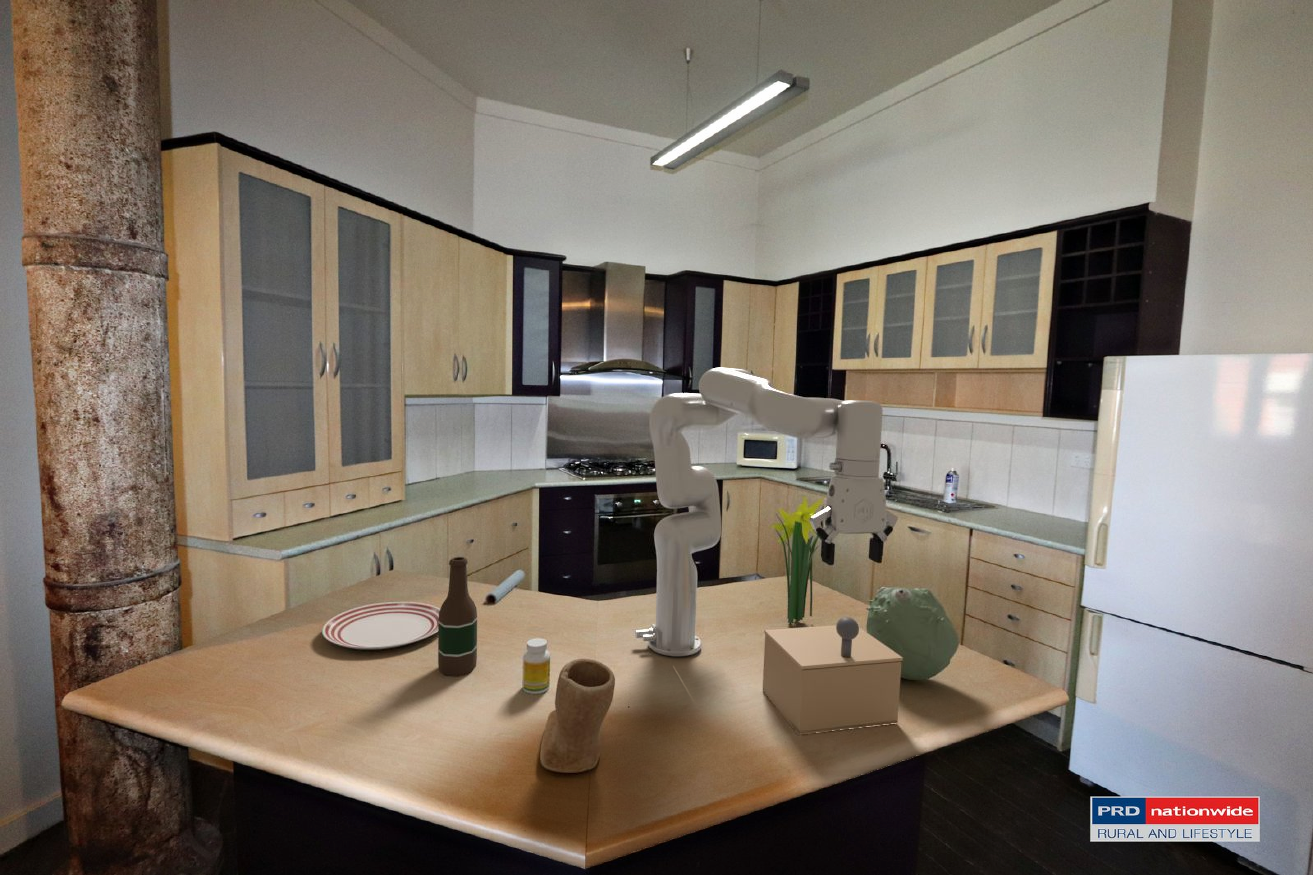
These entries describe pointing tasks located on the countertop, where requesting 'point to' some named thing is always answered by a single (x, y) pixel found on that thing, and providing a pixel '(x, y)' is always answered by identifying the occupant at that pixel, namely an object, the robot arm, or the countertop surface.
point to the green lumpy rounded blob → (913, 630)
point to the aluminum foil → (505, 587)
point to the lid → (831, 645)
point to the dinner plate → (382, 625)
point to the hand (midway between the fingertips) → (851, 562)
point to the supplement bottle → (536, 667)
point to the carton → (831, 693)
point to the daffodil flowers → (798, 556)
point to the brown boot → (577, 717)
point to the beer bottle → (457, 625)
